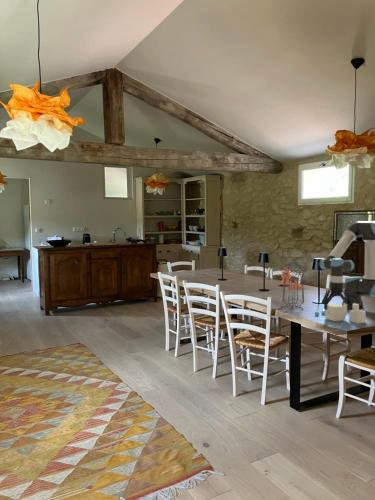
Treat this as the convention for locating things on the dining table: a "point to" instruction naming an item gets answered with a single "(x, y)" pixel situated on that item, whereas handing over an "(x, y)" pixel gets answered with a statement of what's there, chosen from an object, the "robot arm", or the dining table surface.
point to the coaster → (336, 321)
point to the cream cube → (336, 312)
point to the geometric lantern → (293, 280)
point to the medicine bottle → (357, 314)
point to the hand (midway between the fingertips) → (336, 313)
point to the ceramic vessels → (290, 281)
